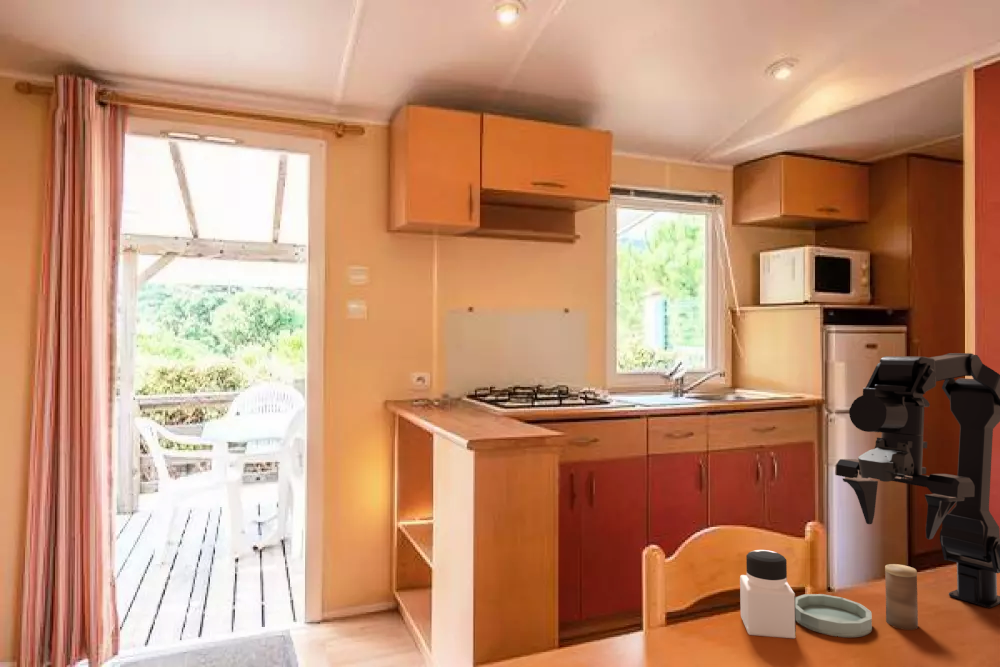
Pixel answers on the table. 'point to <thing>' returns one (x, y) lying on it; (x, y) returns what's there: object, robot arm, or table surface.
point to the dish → (833, 615)
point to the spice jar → (901, 596)
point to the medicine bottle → (767, 596)
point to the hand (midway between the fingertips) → (898, 531)
